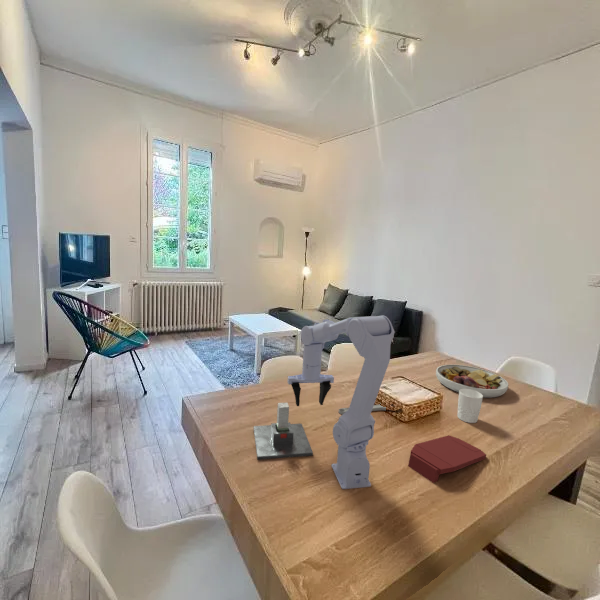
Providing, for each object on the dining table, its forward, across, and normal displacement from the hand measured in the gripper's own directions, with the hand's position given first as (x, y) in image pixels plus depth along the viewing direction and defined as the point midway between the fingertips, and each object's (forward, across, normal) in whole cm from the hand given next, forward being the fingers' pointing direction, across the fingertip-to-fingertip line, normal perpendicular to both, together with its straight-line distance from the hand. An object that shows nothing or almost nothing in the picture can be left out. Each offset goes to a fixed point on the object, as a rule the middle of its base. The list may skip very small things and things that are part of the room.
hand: (309, 404), depth 107 cm
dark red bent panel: (+11, -38, +18) cm, 44 cm away
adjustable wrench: (+11, -28, -14) cm, 33 cm away
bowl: (+11, -85, -31) cm, 91 cm away
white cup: (+11, -62, -3) cm, 63 cm away
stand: (+10, +9, +3) cm, 14 cm away
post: (+6, +9, +3) cm, 11 cm away
